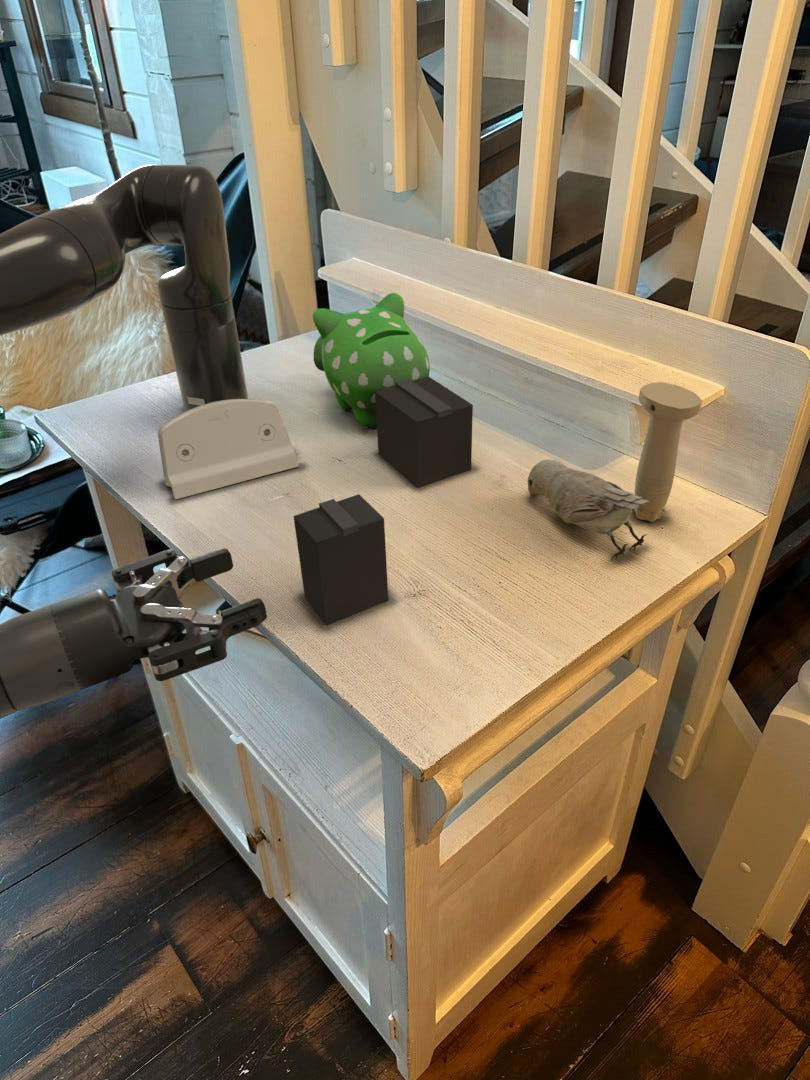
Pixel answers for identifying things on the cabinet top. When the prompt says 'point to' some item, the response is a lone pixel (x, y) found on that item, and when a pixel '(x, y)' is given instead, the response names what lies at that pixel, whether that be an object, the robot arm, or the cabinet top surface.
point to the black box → (342, 557)
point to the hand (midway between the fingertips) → (246, 581)
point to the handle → (661, 444)
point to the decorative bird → (585, 499)
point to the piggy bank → (367, 354)
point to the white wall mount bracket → (223, 445)
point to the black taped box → (424, 430)
